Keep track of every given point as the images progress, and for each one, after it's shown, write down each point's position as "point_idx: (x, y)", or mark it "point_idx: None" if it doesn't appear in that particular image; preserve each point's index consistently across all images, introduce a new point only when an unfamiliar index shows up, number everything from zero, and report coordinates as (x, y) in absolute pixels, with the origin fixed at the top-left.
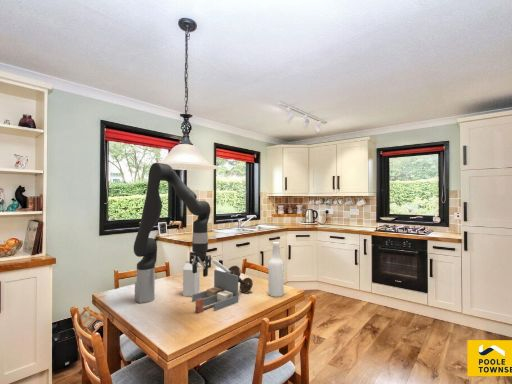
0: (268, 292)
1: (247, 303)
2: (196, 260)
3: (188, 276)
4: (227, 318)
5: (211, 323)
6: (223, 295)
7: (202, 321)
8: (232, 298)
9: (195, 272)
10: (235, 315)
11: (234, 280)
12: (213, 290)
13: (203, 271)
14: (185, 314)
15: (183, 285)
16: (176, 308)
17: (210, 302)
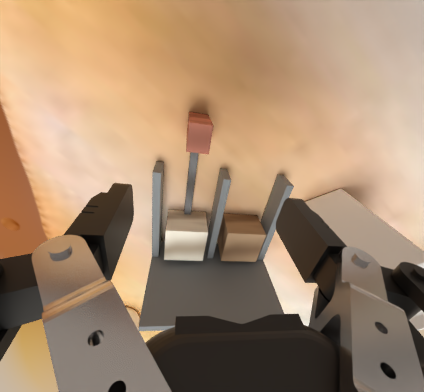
0: (131, 313)
1: (127, 252)
2: (309, 350)
3: (373, 243)
4: (68, 142)
5: (67, 67)
6: (171, 230)
7: (111, 59)
8: (152, 240)
9: (281, 217)
10: (73, 176)
11: (158, 304)
12: (238, 241)
13: (102, 212)
14: (223, 70)
15: (365, 209)
16: (296, 93)
17: (215, 196)
